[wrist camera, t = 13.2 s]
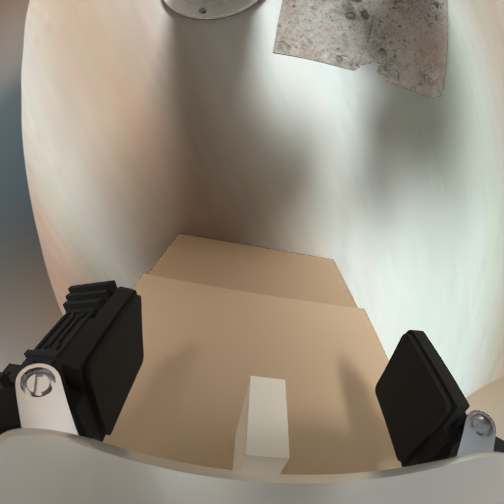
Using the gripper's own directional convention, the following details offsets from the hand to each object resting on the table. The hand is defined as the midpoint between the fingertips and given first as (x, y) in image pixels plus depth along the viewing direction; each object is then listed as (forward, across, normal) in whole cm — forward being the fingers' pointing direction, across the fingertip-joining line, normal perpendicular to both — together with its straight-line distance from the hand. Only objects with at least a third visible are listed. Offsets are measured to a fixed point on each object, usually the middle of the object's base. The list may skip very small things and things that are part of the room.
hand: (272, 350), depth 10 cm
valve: (+25, -8, -37) cm, 45 cm away
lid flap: (+4, 0, +5) cm, 7 cm away
